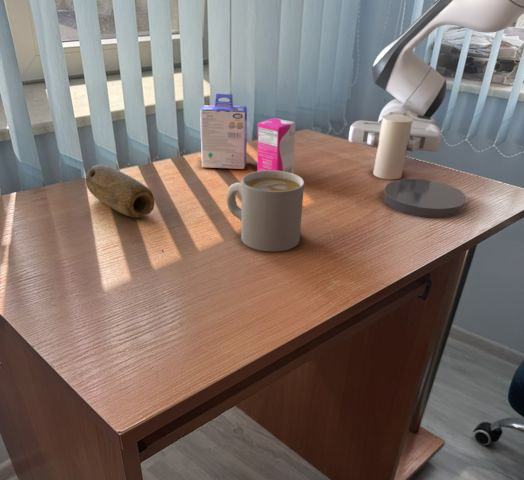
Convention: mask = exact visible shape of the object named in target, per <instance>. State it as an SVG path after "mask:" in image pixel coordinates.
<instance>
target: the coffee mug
mask: <svg viewBox="0 0 524 480" xmlns="http://www.w3.org/2000/svg"><path fill="white" fill-rule="evenodd" d="M304 190H305V181H304V179H303V178H302V177H301V176H300V175H297V174H295V173H294V172H293V173H289V172H285V171H277V170H263V171H257V170H256V171H251V172H249V173H247V174H244V175H243V177H242V179H241V182H234V183H232V184H231V185H230V186H229V187H228V189H227V193H226V205H227V209H228V210H229V212H230V213H231V214H232V215H233V216H234V217H236V218H237V219H239V220H240V222H241V226H240V227H241V229H240V231H241V233H240V235H241V236H240V237H241V241H242V242H243V244H245V245H246V246H247V247H249V248H251V249H253V250H257V251H260V252H261V251H262V252H283V251H287V250H291V249H293V248H295V247H296V246H297V245H298V244H299V243H300V239H301V237H300V236H301V225H302V215H303V214H302V213H303V204H304V203H303V202H304ZM237 193H238V194H240V196H241V207H239V206H238V204H237V200H236V199H237V197H236V195H237Z"/></svg>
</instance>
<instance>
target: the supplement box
mask: <svg viewBox="0 0 524 480" xmlns="http://www.w3.org/2000/svg"><path fill="white" fill-rule="evenodd" d="M295 139H296V122H295V121H291V120H285V119H281V118H277V117H273V118H270V119H266V120H262V121H260V122H258V123H257V157H256V158H257V160H256V161H257V165H256V166H257V167H256V168H257V170H256V171H263V170H277V171H285V172H289V173H293V174H294V164H295V163H294V161H295V159H294V158H295V144H296V143H295V142H296V140H295Z"/></svg>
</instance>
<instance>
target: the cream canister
mask: <svg viewBox="0 0 524 480" xmlns="http://www.w3.org/2000/svg"><path fill="white" fill-rule="evenodd" d="M412 123H413V119H412V118H411V117H408V116H404V115H397V114H388V115H384V116H383V117H382V123H381V129H380V135H379V141H378V147H376V154H375V160H374V164H373V165H374V166H373V171H372V175H374V177H377V178H378V179H383V180H400V179H401V178H402V176H403V172H404V168H405V164H406V157H407V152H408V151H407V148H408V143H409V138H410V133H411V128H412Z"/></svg>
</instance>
